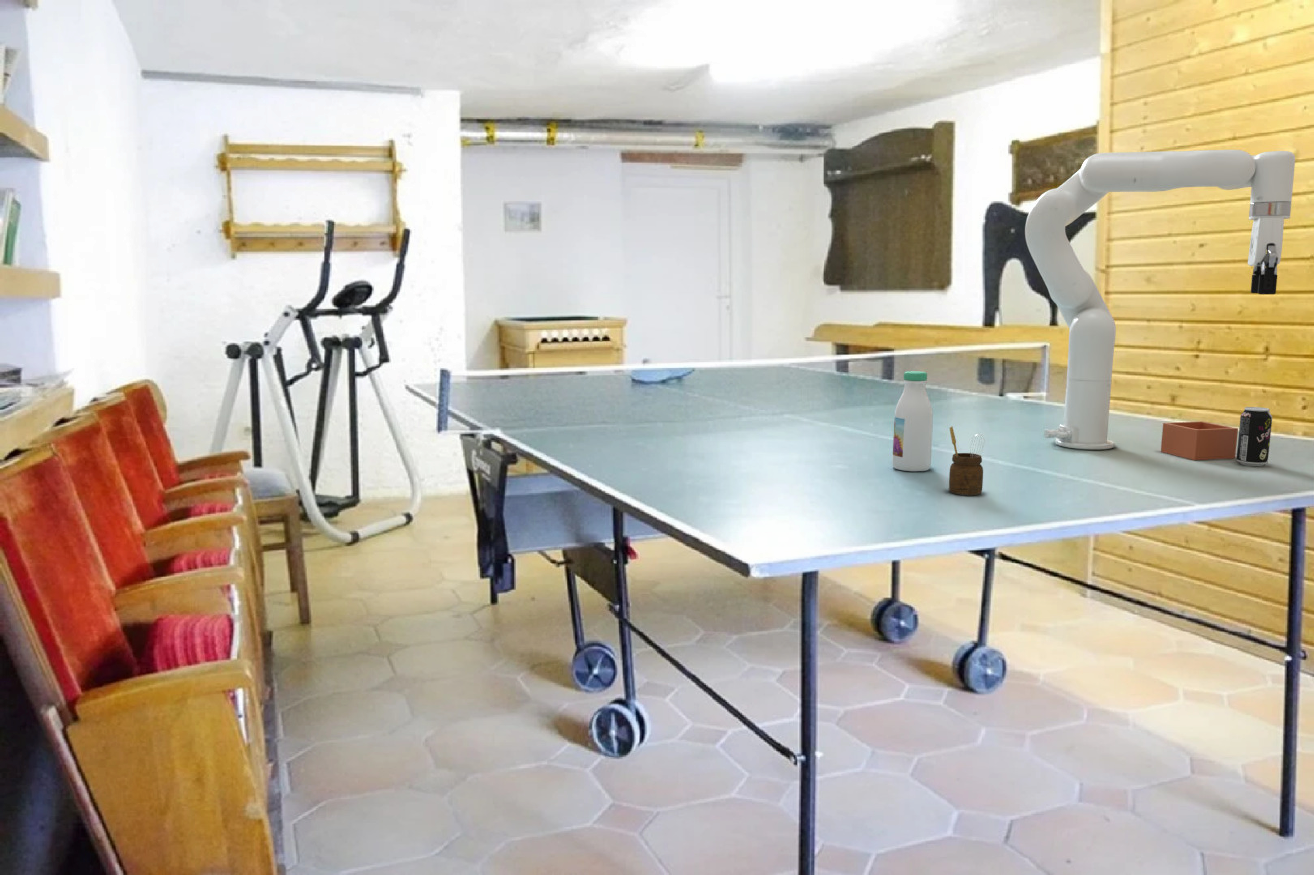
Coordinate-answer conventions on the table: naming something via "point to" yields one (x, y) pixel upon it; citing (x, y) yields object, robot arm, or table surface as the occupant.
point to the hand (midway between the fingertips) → (1262, 293)
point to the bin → (1199, 440)
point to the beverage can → (1254, 436)
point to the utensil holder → (965, 471)
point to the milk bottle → (913, 425)
